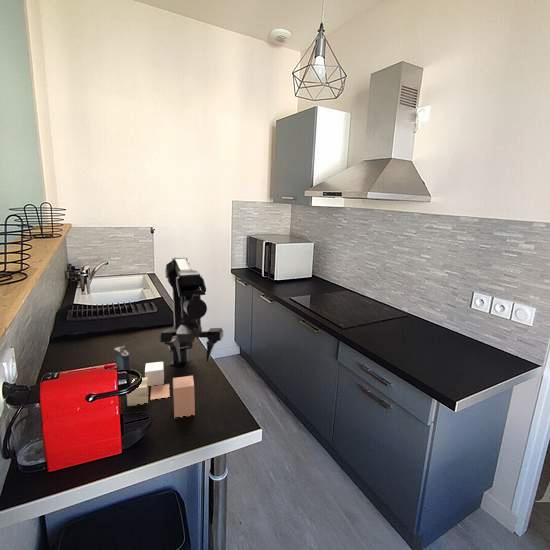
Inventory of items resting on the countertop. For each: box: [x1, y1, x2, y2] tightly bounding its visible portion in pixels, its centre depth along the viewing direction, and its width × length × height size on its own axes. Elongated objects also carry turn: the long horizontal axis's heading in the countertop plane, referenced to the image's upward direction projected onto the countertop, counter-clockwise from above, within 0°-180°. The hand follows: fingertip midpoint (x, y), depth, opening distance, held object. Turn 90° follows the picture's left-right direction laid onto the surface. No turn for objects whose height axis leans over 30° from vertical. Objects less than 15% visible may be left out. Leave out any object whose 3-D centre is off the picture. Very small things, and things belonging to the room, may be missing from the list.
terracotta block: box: [172, 375, 196, 419], centre depth 102 cm, size 6×6×10 cm
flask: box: [113, 345, 131, 371], centre depth 122 cm, size 9×3×11 cm, turn 48°
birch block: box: [126, 377, 150, 407], centre depth 107 cm, size 6×6×6 cm
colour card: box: [149, 383, 171, 401], centre depth 112 cm, size 8×6×1 cm
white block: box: [144, 361, 165, 386], centre depth 118 cm, size 6×6×6 cm
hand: (193, 361), depth 104 cm, fingers open, 9 cm apart
